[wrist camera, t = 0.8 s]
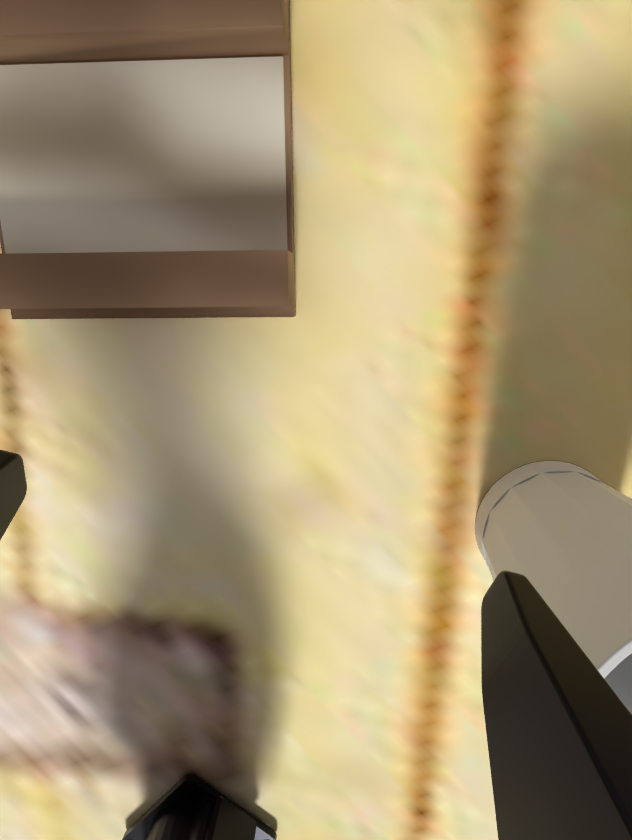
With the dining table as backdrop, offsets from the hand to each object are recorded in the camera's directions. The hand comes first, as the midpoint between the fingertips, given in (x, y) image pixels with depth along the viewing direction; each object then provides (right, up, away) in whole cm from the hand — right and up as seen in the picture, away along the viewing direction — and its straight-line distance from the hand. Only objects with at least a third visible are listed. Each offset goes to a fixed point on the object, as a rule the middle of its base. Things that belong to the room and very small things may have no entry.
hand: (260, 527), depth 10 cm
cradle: (-6, +12, +11) cm, 18 cm away
